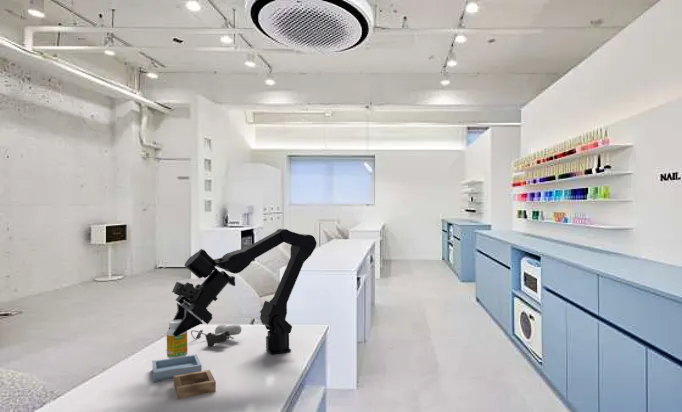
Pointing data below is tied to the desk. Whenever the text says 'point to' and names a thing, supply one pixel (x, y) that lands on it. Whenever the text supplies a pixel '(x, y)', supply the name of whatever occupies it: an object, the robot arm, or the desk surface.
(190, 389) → the frame
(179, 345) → the supplement bottle
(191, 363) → the tray
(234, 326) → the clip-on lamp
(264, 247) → the robot arm
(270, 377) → the desk surface
